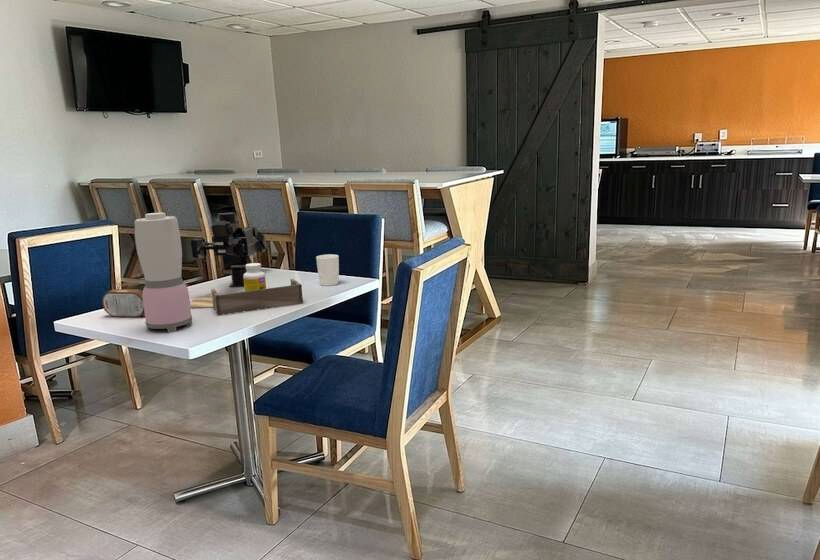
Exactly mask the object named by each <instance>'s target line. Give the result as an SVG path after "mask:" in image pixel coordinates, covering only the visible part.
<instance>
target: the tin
mask: <svg viewBox="0 0 820 560" xmlns="http://www.w3.org/2000/svg"><path fill="white" fill-rule="evenodd" d="M142 294H143V290H140V289H136V288H135V289H133V288H132V289H131V288H128V289H127V288H124V289H123V288H112V289H111V290H109V291H107V292H106V293H105V294H104V295H103V296H102V298H101V302H102V307H103V310H104V312H106V314H108V315H109V316H110V317H114V318H140V317H142V316H145V312H144V305H143V297H142Z"/></svg>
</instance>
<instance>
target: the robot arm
mask: <svg viewBox="0 0 820 560" xmlns="http://www.w3.org/2000/svg"><path fill="white" fill-rule="evenodd" d="M217 217H218V220H215V221H214V222H213V223H212V225H211V227H210V228H211V232H212V235H213V236H212V237H211V241H210V242H206V239H205V238H193V239H192V240H191V241H190V247H191V255H192V258H194V259H205V258H207V253H208V252H207V251H208V250H213V252H214V255H215V256H218V257H219V256H222V261H223V265H224V266H223V267H224V269H225V271H227V270H230V278H231V283H230V284H229V285H228V286H229V287H230V288H232V287H234V288H235V287H239V288H240V287H244V279H243V275H244V274H245V273H246V272H247V270H246V264H250V263H253V260H252V259H251V256H253V255H254V254H255V253H264V252H266V249H268V241H267V239H266V237H265V234H263V233H262V232H260V231H259V230H258V228H257V227H255V226H246V227H243V226H242V227H238V226H237V216H236V212H224V213H222V212H221V213H218V214H217Z"/></svg>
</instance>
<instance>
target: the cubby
mask: <svg viewBox="0 0 820 560" xmlns="http://www.w3.org/2000/svg"><path fill="white" fill-rule="evenodd" d="M289 282H290V285H284V286H283V285H282V286H277V287H268V288H267V287H266V289H260V290H252V291H245V290H244V291H239V292H230V293H223V294H222V293H221V294H219V293H218V292H217V291H216V289H215V288H211V296H212V301H213V308H212V309H213V311H216V312H215V313H216V315H217V316H223V315H222V314H225V315H229V314H228V313H232V314H236V313H235V312H239V313H244V312H243V311H246V312H252V311H251V310H253V311H258V310H257V309H260V310H266V309H265V308H267V309H273V308H272V307H274V308H279V307H288V306H293V305H299V304H300V305H301V304H304V299H303V298H304V297H303V287H302V284H301V283H300V282H298V281H297V280H296V279H294V278H290V281H289Z"/></svg>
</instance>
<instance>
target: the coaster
mask: <svg viewBox="0 0 820 560" xmlns="http://www.w3.org/2000/svg"><path fill="white" fill-rule="evenodd" d="M211 307H213V301H212V295H209V296H197V297H196V298H194V299H192V300H191V301H190V308H192V309H212V308H211Z"/></svg>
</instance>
